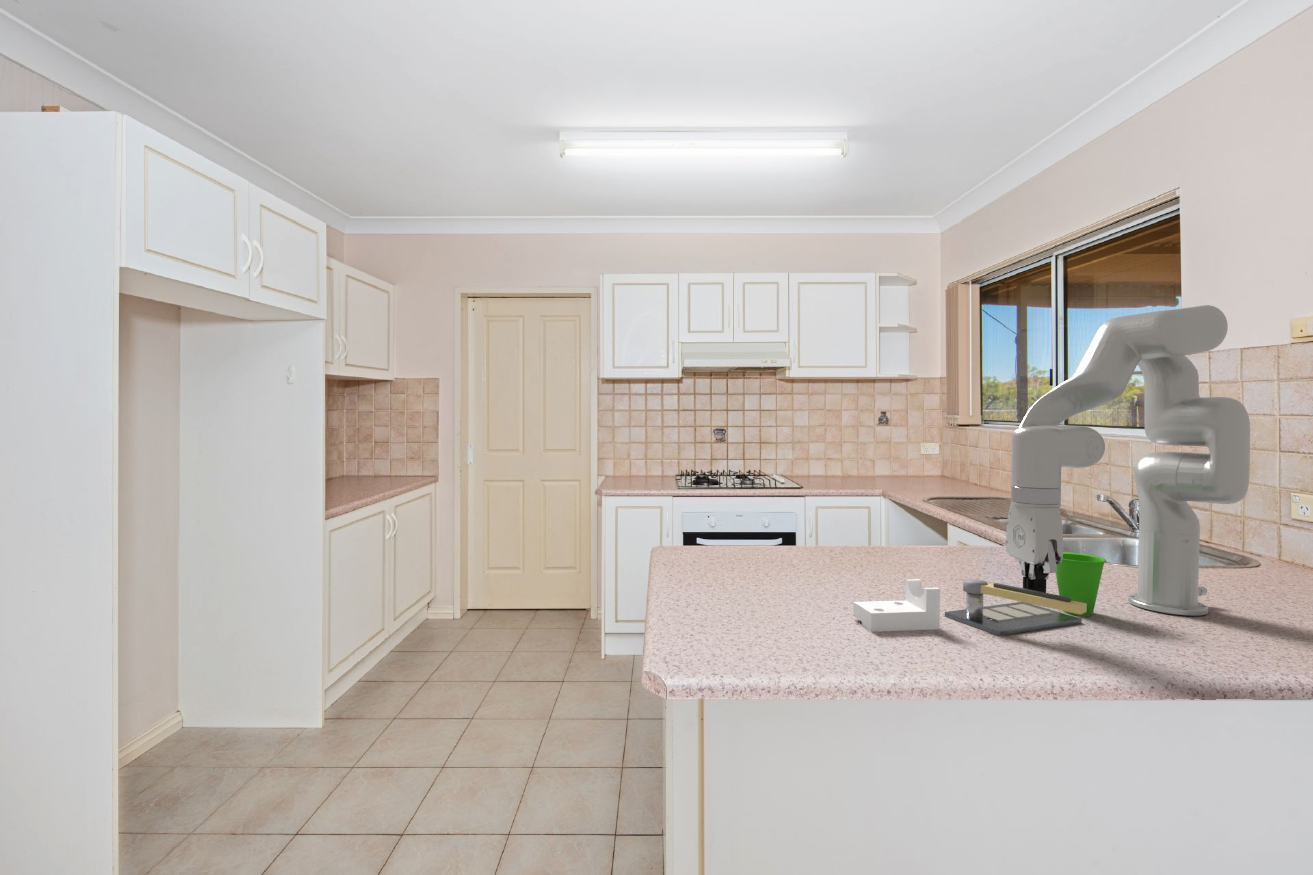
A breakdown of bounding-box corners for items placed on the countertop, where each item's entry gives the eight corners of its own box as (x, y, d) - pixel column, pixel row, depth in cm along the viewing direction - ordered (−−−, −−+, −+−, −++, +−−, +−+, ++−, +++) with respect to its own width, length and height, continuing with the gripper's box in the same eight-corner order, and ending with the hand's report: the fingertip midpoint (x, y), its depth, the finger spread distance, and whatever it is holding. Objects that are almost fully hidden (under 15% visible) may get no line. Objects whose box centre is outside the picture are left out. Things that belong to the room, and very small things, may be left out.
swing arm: (958, 590, 116) (959, 578, 116) (969, 587, 118) (969, 575, 118) (1079, 616, 100) (1079, 603, 100) (1088, 612, 103) (1088, 599, 103)
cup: (1114, 620, 118) (1116, 563, 117) (1061, 617, 119) (1062, 560, 119) (1091, 607, 126) (1092, 553, 126) (1042, 604, 128) (1043, 551, 128)
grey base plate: (1022, 605, 127) (1023, 578, 127) (1081, 623, 116) (1082, 593, 116) (944, 616, 120) (945, 587, 119) (999, 636, 108) (1000, 604, 108)
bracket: (917, 618, 119) (918, 579, 119) (939, 630, 112) (940, 588, 112) (853, 620, 117) (853, 580, 117) (871, 633, 110) (871, 590, 110)
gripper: (992, 492, 117) (991, 588, 118) (1039, 502, 103) (1038, 613, 103) (1032, 492, 117) (1031, 588, 118) (1085, 502, 102) (1083, 613, 103)
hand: (1034, 599), depth 110 cm, fingers closed
